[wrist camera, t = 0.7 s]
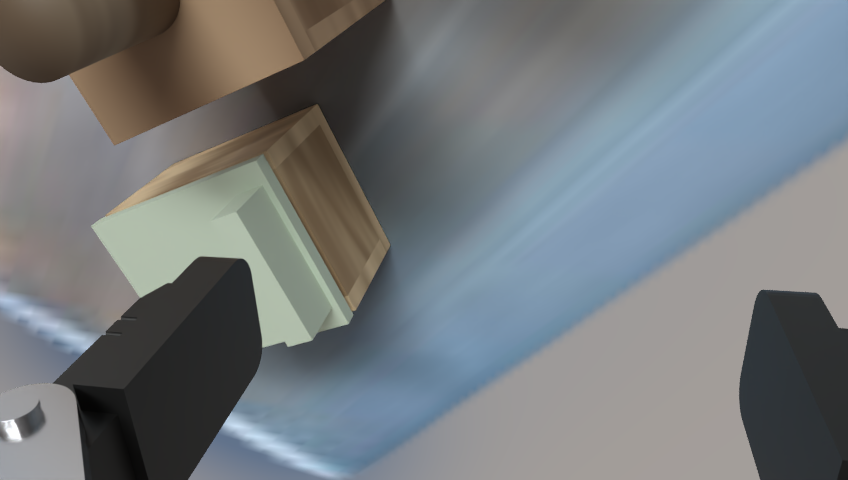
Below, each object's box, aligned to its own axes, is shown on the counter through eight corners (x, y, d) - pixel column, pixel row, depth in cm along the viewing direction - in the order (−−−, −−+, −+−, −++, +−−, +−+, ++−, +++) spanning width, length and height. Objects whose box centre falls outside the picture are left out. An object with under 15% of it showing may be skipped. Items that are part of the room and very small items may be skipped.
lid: (263, 153, 29) (228, 185, 26) (353, 314, 32) (330, 358, 29) (100, 219, 32) (55, 253, 30) (195, 358, 35) (161, 401, 32)
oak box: (317, 103, 34) (266, 150, 29) (390, 245, 37) (355, 310, 32) (173, 163, 38) (105, 215, 33) (250, 289, 41) (199, 354, 35)
